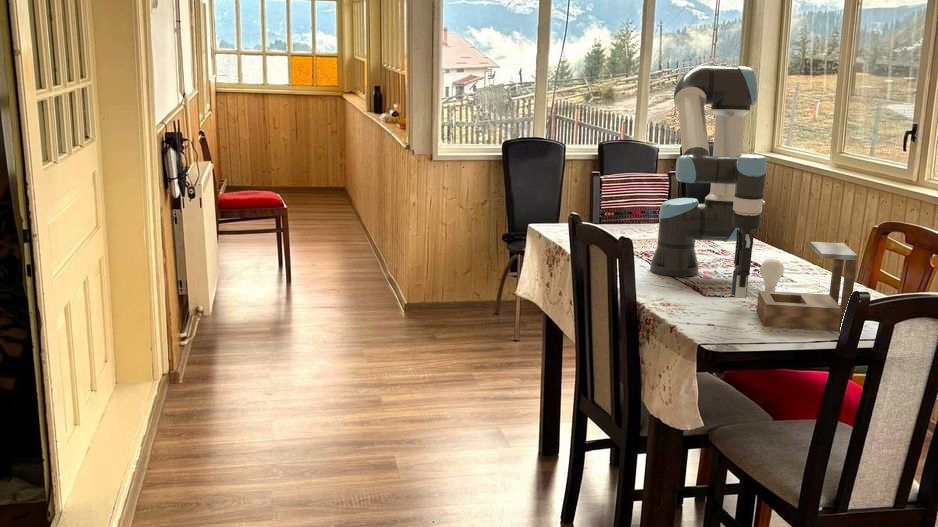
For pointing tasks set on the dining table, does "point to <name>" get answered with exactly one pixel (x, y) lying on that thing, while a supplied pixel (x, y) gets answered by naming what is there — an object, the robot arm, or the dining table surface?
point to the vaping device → (736, 280)
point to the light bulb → (771, 272)
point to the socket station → (812, 296)
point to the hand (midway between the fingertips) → (739, 294)
